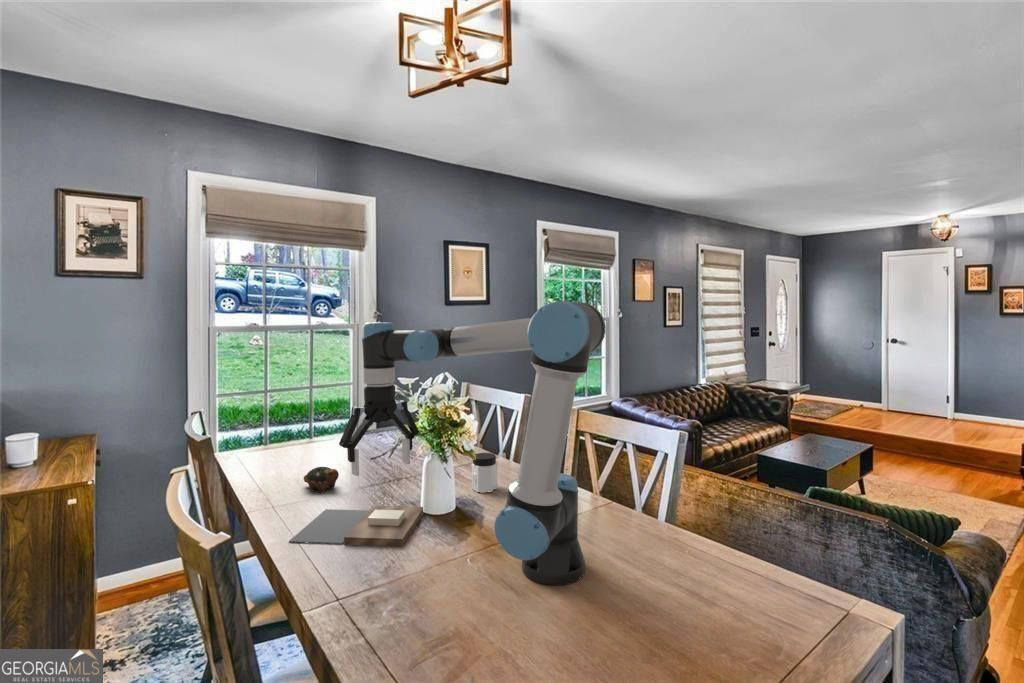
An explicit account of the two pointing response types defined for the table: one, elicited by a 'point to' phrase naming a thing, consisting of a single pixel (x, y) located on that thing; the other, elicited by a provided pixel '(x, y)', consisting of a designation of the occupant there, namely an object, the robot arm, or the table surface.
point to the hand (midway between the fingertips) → (381, 468)
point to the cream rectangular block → (386, 517)
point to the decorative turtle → (321, 478)
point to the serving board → (384, 528)
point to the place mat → (330, 526)
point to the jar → (484, 472)
